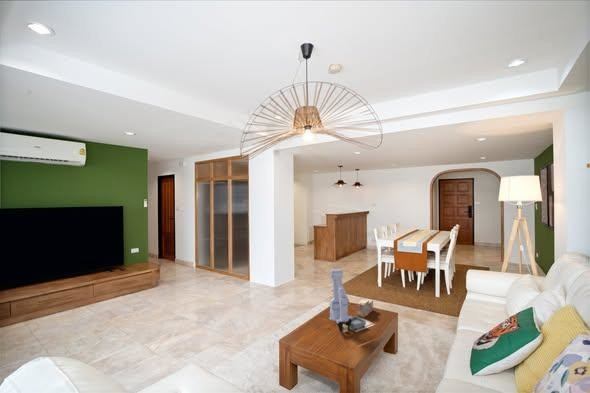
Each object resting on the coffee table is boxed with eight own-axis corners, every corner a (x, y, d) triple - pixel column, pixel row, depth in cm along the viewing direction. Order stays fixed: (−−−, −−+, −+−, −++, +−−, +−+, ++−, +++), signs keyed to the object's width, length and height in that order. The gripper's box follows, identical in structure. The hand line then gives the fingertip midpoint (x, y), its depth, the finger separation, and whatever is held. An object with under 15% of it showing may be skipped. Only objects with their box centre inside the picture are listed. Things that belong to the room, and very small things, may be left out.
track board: (344, 326, 230) (344, 325, 230) (363, 319, 241) (363, 318, 241) (355, 333, 219) (355, 331, 219) (375, 325, 230) (375, 324, 230)
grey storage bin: (345, 325, 229) (345, 319, 229) (355, 321, 235) (355, 316, 235) (354, 330, 219) (354, 325, 219) (365, 326, 226) (365, 321, 226)
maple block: (340, 331, 222) (340, 325, 221) (344, 330, 224) (344, 324, 224) (344, 333, 218) (343, 327, 218) (347, 332, 220) (347, 326, 220)
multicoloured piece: (366, 308, 264) (366, 295, 264) (373, 310, 260) (373, 297, 260) (356, 316, 247) (356, 303, 247) (363, 318, 243) (363, 304, 243)
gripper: (340, 317, 213) (340, 334, 214) (354, 312, 221) (354, 329, 221) (334, 313, 219) (334, 331, 220) (348, 309, 227) (348, 326, 227)
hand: (344, 330), depth 221 cm, fingers open, 6 cm apart
